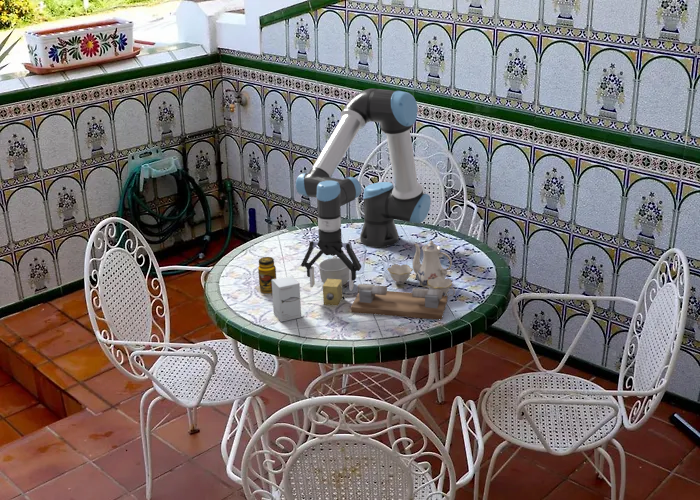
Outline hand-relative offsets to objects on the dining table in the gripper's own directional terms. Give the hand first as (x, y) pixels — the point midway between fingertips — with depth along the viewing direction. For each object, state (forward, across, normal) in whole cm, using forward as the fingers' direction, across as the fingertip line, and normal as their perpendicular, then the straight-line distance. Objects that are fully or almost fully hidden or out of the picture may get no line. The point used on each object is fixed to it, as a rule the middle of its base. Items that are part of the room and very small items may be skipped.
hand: (331, 287), depth 284 cm
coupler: (+6, 0, 0) cm, 6 cm away
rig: (+5, +23, 0) cm, 24 cm away
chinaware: (+5, +29, +18) cm, 35 cm away
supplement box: (+6, -12, -13) cm, 18 cm away
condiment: (+6, -25, +5) cm, 26 cm away
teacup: (+5, -3, +15) cm, 17 cm away
